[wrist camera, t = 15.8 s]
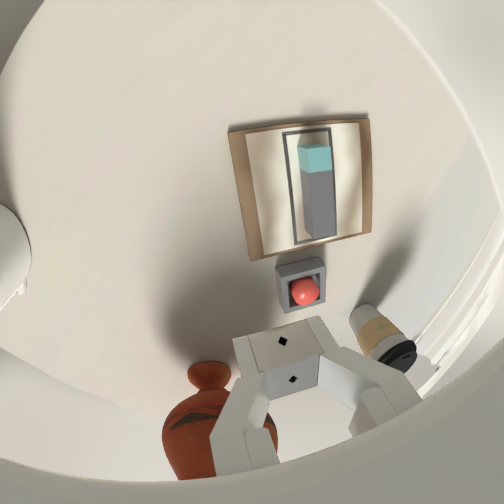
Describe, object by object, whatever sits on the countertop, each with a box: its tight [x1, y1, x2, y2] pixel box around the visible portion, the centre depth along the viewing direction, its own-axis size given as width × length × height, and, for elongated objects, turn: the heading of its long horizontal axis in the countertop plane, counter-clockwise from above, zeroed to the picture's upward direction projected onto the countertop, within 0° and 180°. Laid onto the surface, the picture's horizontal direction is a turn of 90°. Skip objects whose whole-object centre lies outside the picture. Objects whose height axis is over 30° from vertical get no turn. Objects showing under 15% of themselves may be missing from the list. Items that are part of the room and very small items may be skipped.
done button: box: [289, 276, 319, 305], centre depth 41 cm, size 4×4×3 cm
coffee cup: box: [349, 304, 417, 374], centre depth 45 cm, size 9×9×15 cm
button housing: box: [275, 257, 326, 313], centre depth 42 cm, size 7×7×3 cm
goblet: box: [162, 361, 278, 480], centre depth 40 cm, size 19×19×25 cm
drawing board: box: [228, 119, 372, 261], centre depth 36 cm, size 20×18×1 cm
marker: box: [297, 143, 335, 239], centre depth 34 cm, size 12×3×3 cm, turn 9°
